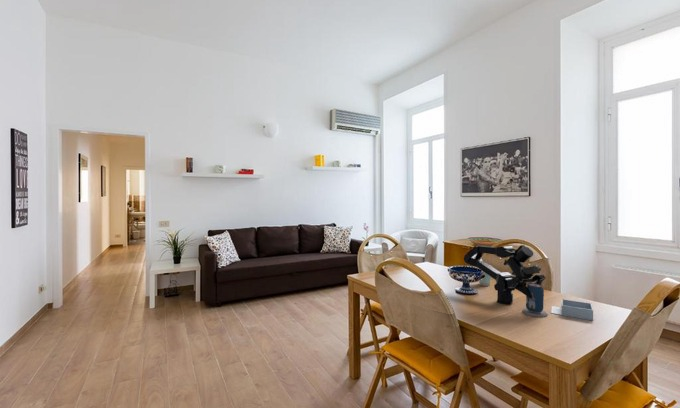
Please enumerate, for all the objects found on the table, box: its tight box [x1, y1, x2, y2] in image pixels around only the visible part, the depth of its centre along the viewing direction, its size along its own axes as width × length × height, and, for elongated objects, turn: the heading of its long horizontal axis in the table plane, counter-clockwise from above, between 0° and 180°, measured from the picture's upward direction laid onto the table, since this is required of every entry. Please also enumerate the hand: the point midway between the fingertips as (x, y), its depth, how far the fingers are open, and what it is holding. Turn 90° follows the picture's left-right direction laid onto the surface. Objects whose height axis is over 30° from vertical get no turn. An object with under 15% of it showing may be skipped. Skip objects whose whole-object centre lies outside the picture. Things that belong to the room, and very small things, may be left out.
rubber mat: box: [522, 308, 548, 318], centre depth 152 cm, size 10×10×1 cm
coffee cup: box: [478, 264, 492, 287], centre depth 201 cm, size 8×8×12 cm
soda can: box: [525, 282, 545, 313], centre depth 152 cm, size 7×7×12 cm
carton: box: [551, 298, 594, 321], centre depth 154 cm, size 15×15×4 cm
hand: (537, 297), depth 151 cm, fingers closed on soda can, 7 cm apart
